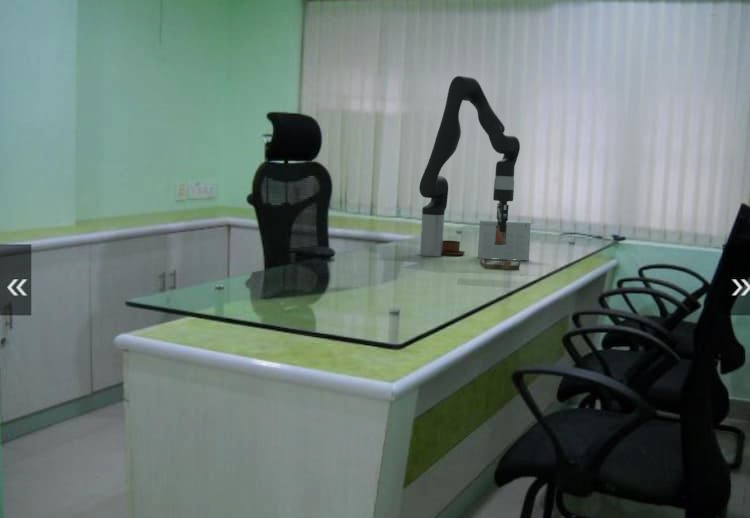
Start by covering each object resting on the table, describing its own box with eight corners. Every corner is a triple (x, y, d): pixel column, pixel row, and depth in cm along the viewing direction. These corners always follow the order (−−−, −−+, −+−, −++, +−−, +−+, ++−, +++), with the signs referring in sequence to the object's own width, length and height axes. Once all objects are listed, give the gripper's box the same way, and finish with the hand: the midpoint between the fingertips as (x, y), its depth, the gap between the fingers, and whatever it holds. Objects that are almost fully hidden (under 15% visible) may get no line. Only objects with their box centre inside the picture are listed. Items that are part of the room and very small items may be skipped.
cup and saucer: (467, 257, 344) (468, 243, 344) (439, 256, 343) (440, 242, 342) (461, 254, 356) (462, 240, 355) (433, 253, 355) (434, 239, 354)
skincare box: (527, 260, 345) (530, 222, 343) (528, 261, 340) (531, 223, 338) (477, 257, 347) (479, 219, 345) (477, 258, 342) (479, 220, 340)
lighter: (501, 245, 310) (502, 218, 309) (492, 244, 312) (494, 218, 311) (508, 244, 318) (509, 218, 316) (499, 243, 319) (501, 217, 318)
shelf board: (484, 268, 307) (485, 258, 307) (480, 263, 324) (480, 254, 323) (519, 269, 307) (520, 260, 307) (513, 264, 324) (513, 255, 323)
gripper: (516, 189, 305) (513, 233, 307) (511, 188, 320) (508, 230, 321) (496, 188, 306) (493, 232, 307) (491, 187, 320) (489, 229, 321)
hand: (501, 231), depth 314 cm, fingers closed on lighter, 7 cm apart
